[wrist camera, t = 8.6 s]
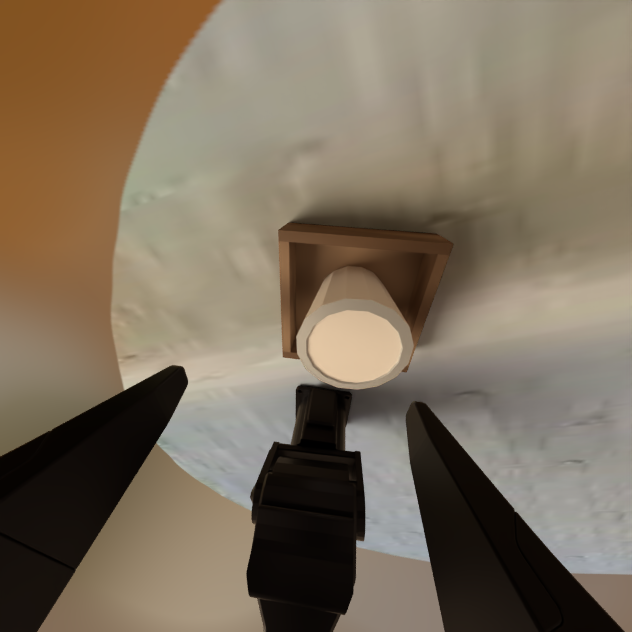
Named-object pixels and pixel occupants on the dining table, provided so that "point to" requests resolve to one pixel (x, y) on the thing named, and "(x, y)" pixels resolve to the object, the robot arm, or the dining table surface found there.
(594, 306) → the dining table surface
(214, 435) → the dining table surface
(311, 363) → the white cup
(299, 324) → the walnut crate
